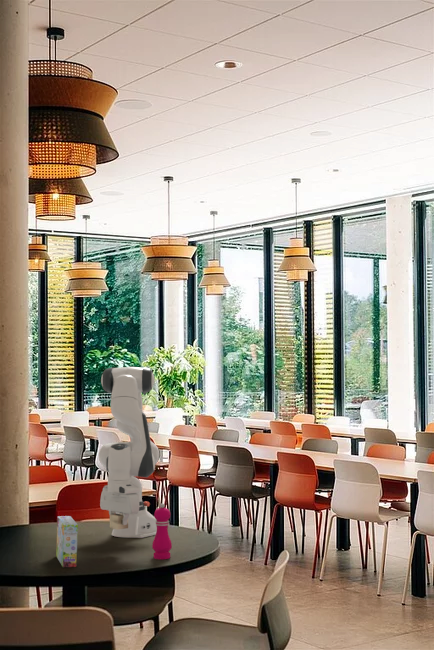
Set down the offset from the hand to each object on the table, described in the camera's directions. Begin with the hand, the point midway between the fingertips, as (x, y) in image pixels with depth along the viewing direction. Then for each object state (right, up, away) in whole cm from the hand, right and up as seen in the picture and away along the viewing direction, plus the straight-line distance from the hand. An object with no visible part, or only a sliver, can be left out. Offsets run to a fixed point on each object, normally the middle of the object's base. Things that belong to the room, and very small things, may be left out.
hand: (119, 523), depth 347 cm
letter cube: (0, -2, 0) cm, 2 cm away
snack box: (-17, -10, -16) cm, 26 cm away
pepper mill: (+17, -11, -9) cm, 22 cm away
